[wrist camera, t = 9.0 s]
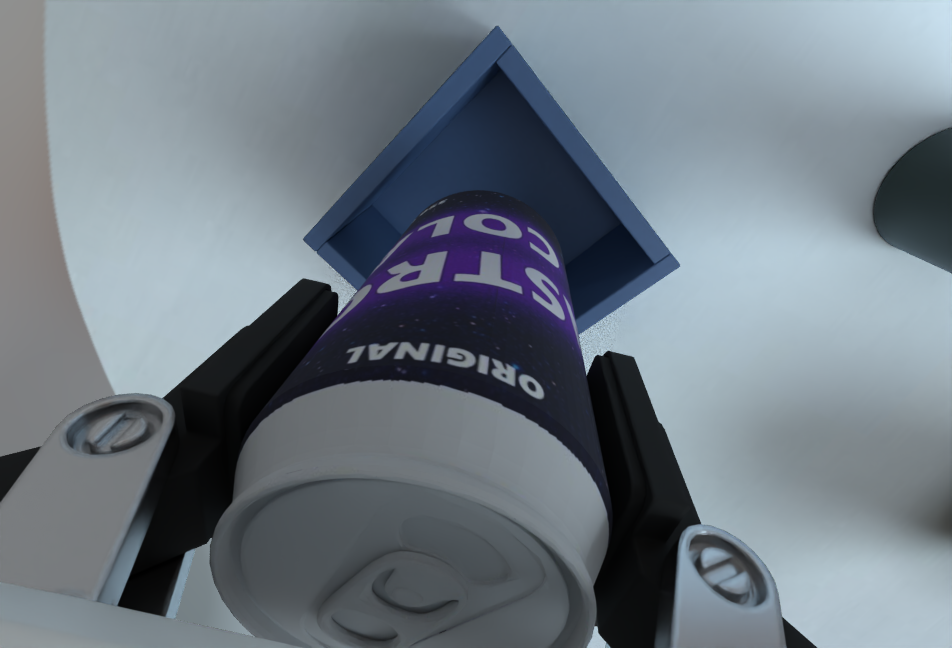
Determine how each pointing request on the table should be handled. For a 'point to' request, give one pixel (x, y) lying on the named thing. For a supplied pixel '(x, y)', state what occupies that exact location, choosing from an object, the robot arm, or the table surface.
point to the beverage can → (429, 456)
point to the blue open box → (500, 183)
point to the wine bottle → (920, 202)
